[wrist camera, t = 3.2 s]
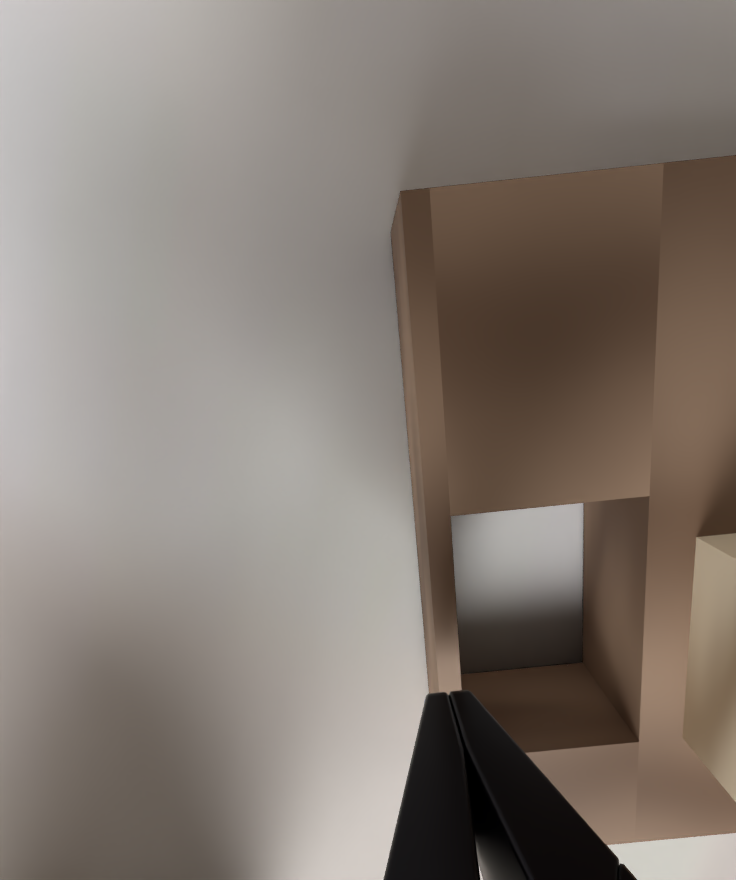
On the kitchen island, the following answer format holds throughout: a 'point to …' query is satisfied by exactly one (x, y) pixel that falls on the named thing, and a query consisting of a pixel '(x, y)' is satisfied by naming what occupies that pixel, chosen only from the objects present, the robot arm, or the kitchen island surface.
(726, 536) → the block
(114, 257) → the kitchen island surface
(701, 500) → the board
